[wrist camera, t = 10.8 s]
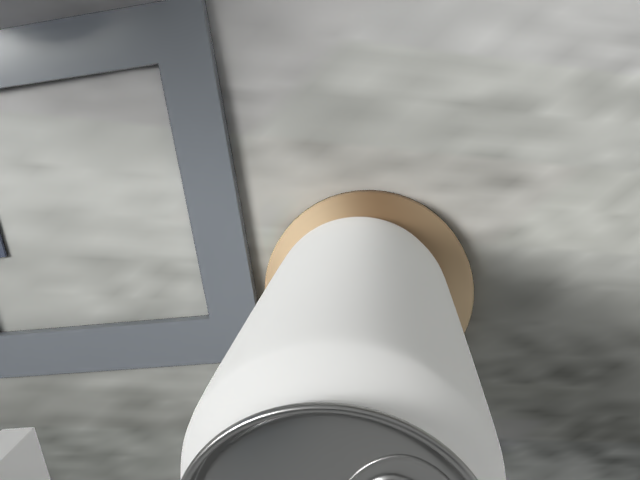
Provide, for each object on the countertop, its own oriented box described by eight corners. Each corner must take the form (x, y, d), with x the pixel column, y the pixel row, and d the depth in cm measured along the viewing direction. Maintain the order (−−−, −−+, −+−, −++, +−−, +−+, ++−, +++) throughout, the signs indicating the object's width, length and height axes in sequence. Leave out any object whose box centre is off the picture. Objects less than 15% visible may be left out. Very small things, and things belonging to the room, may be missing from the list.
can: (478, 319, 20) (608, 619, 9) (338, 397, 22) (288, 741, 10) (384, 179, 19) (386, 304, 8) (244, 271, 21) (71, 492, 9)
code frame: (-31, 375, 24) (-38, 380, 24) (-138, 55, 21) (-148, 54, 20) (267, 355, 22) (264, 359, 22) (204, -4, 19) (200, -6, 18)
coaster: (283, 386, 23) (281, 393, 22) (252, 202, 21) (249, 205, 20) (477, 374, 21) (480, 382, 21) (464, 178, 19) (466, 181, 19)
